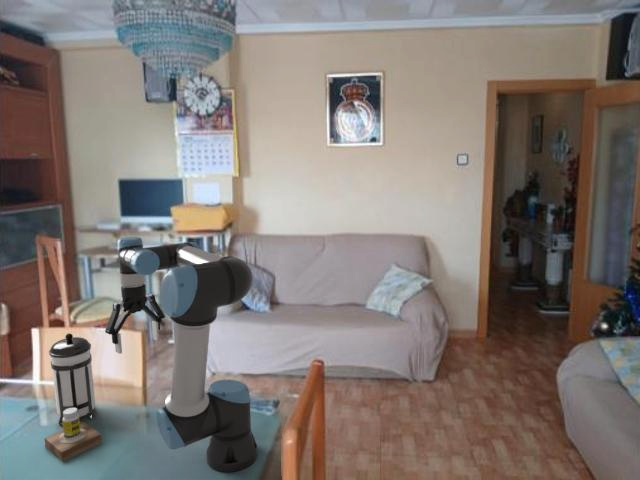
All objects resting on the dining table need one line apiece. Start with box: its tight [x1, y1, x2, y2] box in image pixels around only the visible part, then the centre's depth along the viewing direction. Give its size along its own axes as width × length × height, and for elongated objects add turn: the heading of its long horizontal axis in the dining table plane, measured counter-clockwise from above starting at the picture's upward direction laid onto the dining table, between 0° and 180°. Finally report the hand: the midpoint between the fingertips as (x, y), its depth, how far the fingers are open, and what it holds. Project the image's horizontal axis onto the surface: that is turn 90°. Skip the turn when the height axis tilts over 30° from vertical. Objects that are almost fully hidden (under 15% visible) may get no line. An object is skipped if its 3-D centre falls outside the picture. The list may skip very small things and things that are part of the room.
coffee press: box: [48, 332, 96, 426], centre depth 168 cm, size 17×16×30 cm
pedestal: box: [43, 421, 103, 462], centre depth 154 cm, size 12×12×3 cm
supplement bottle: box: [62, 408, 81, 439], centre depth 153 cm, size 5×5×8 cm
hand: (138, 346), depth 164 cm, fingers open, 13 cm apart
